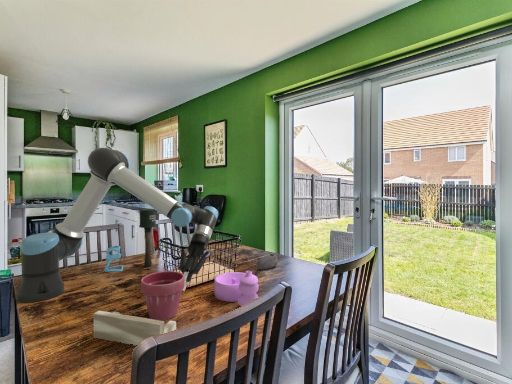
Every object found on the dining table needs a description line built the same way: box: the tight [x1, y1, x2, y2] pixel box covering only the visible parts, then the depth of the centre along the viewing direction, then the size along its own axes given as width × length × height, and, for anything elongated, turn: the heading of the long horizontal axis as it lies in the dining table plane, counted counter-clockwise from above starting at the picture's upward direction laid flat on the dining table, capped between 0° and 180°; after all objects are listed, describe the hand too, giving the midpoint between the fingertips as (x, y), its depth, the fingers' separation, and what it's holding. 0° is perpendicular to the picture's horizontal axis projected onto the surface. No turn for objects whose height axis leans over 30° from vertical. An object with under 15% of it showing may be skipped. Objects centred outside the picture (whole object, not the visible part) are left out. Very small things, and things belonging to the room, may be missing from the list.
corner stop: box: [92, 310, 177, 347], centre depth 82 cm, size 8×22×7 cm, turn 75°
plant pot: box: [140, 270, 185, 321], centre depth 95 cm, size 14×14×13 cm
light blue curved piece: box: [103, 245, 124, 273], centre depth 141 cm, size 8×8×12 cm
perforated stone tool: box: [256, 252, 279, 271], centre depth 147 cm, size 15×5×7 cm, turn 132°
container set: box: [214, 270, 260, 306], centre depth 109 cm, size 25×15×13 cm, turn 28°
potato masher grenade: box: [138, 208, 157, 268], centre depth 148 cm, size 8×9×30 cm
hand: (181, 289), depth 107 cm, fingers closed
